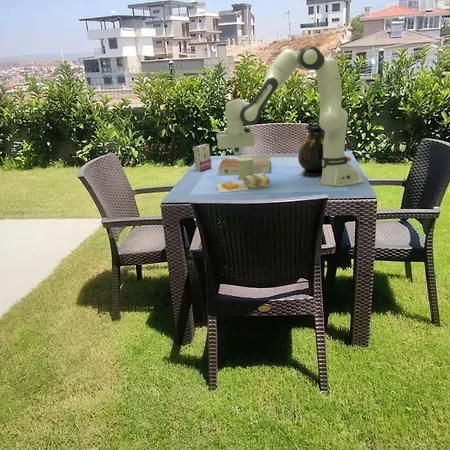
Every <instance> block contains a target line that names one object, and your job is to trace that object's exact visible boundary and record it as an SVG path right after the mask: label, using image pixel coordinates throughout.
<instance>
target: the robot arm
mask: <svg viewBox="0 0 450 450" xmlns="http://www.w3.org/2000/svg"><path fill="white" fill-rule="evenodd" d="M296 69H301V70H304V71H314V72H315V73H316V77H317V84H318V92H319V120H318V123H319V125H320V127H321V128H322V129H323V130H324V131H325V132H324V134H325V136H324V140H323V157H322V167H323V170H322V176H320V181H319V183H320V185H325V186H331V187H332V186H334V187H344V186H349V185H358V184H362V183H364V179H363V177H360V173H359V171H358V169H357V168H356V167H354V166H353V165H352V164H350V163H349V162H351V161H352V158H351V157H350V156H346V155H345V152H346V151H345V145H346V144H345V141H346V135H347V128H348V118H349V114H348V112H347V110H346V109H344V108H343V107H342V98H343V90H342V81H341V75H340V69H339V65H338V62H337V59H336V58H334V57H331V56H326V57H325V55H324V54H323V53H322V52H321V50H320V49H319V48H318V47H316V46H314V45H306V46H305V47H303V48H302V49H301V50H300V51H296V50H294V49H292V48H285V49H284V50H282V51H281V52H280V53H279V54H278V56H277V57H276V58H275V59H274V61H272V63H271V64H270V66H269V68H268V70H267V72H266V74H265V76H264V81H263V84H262V86H261V87H260V89H259V91H258V92H257V94H256V95H255V96H254V98H253V99H252V100H251V102H248V101H245V100H242V99H241V98H240V97H236V98H232V99H229V100H227V101H226V103H225V118H226V130H223V131H218V132H217V133H216V135H215V136H216V140H217V148H218V149H219V150H227V149H231V151H232V152H233V155H234V157H240V156H241V152H242V149H243V148H247V147H254V146H255V145H256V140H255V135H254V134H253V133H252V132H253V129H252V128H251V127H250V126H254V125H256V124H257V123H258V122H259V120H260V118H261V114H262V111H263V109H264V106H266V104H267V102H268V101H269V100H270V98H271V97H272V96H273V94H275V93H276V92H277V91H278V90H279V89H280V88H281V87H282V86H283V85H284V84H285V83H286V82H287V81H288V80H289V78H290V77H291V76H292V74H293V73H294V72H295V71H296ZM244 125H245V126H244ZM236 149H238V152H237V151H235V150H236Z"/></svg>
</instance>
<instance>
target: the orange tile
mask: <svg viewBox="0 0 450 450" xmlns="http://www.w3.org/2000/svg"><path fill="white" fill-rule="evenodd" d="M233 182H234V181H227V182H220V183H221V184H222V187H223V188H225V189H228V190H232V189H237V188H239V185H238V184H236V183H233Z"/></svg>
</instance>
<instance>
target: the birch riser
mask: <svg viewBox="0 0 450 450" xmlns="http://www.w3.org/2000/svg"><path fill="white" fill-rule="evenodd" d="M243 181H244V183H245V184H246V186H247V187H248V189H249V190H251V189H257V188H260V189H261V188H269V187H271V186H270V178H269V177H268V176H267V175H266V173H264V174H254V175H249V176H244V180H243Z"/></svg>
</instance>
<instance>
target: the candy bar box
mask: <svg viewBox="0 0 450 450" xmlns="http://www.w3.org/2000/svg"><path fill="white" fill-rule="evenodd" d="M193 158H194V167H195V172H196V171H199V172H198V173H202V172H205V171H208V170H211V169H212V160H211V151H210V144H209V143H203V144H200V145H196V146H193Z"/></svg>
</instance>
